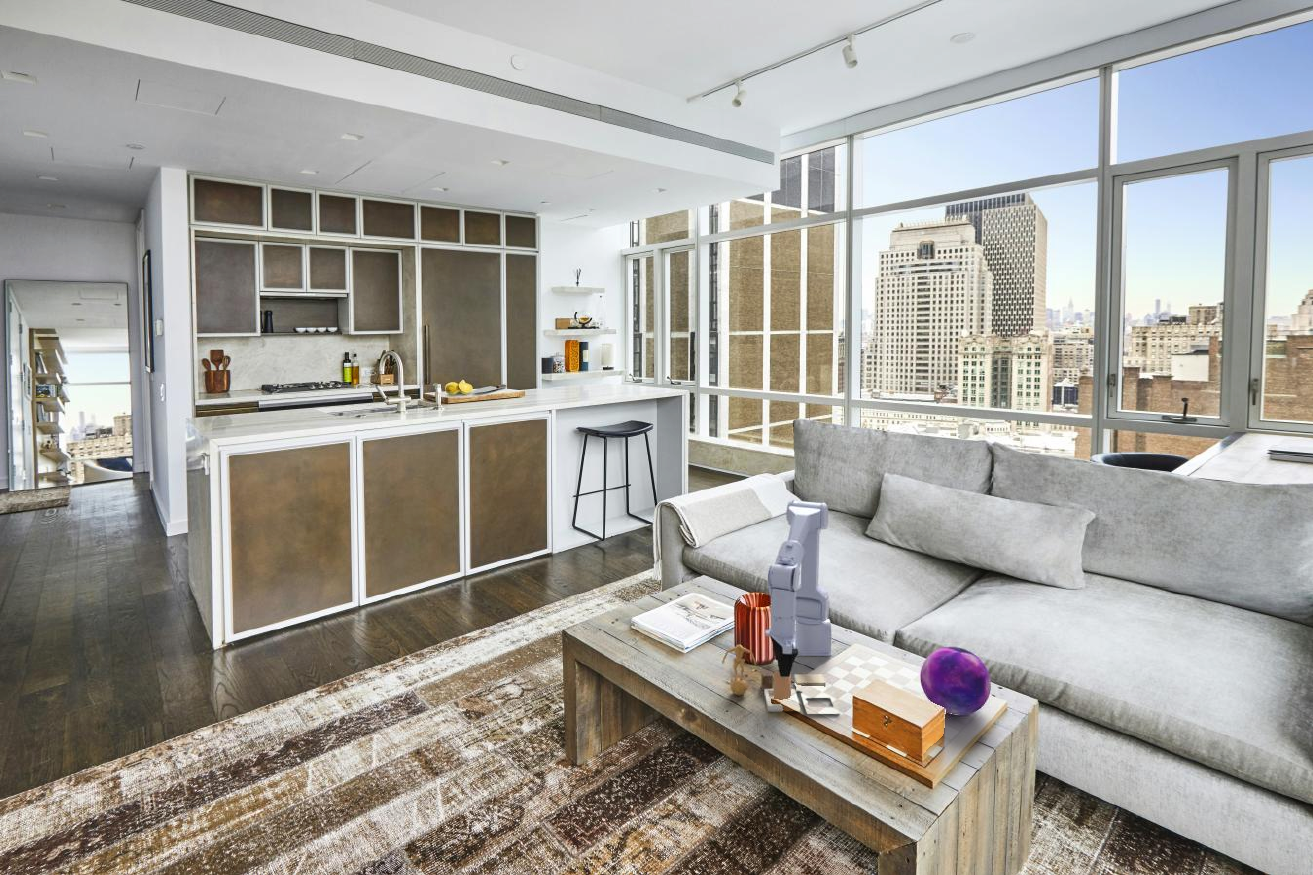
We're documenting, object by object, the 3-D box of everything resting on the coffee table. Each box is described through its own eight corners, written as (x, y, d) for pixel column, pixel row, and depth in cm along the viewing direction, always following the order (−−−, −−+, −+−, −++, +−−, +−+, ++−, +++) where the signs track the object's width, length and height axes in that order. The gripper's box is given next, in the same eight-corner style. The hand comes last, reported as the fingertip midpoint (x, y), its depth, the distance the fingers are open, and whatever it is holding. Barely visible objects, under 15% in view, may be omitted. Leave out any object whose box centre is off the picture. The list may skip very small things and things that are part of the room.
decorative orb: (959, 736, 154) (963, 673, 151) (905, 704, 167) (908, 645, 164) (1003, 716, 161) (1007, 655, 158) (947, 686, 174) (951, 630, 171)
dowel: (789, 695, 170) (789, 669, 169) (791, 705, 166) (792, 677, 165) (772, 695, 170) (772, 669, 169) (774, 705, 166) (774, 678, 165)
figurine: (721, 697, 171) (721, 651, 169) (722, 684, 177) (722, 640, 174) (756, 699, 170) (756, 653, 167) (756, 686, 175) (756, 641, 173)
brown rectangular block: (771, 685, 176) (771, 670, 175) (772, 690, 173) (772, 675, 173) (761, 685, 176) (761, 670, 175) (762, 690, 173) (762, 675, 173)
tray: (795, 694, 172) (795, 688, 171) (800, 711, 164) (800, 705, 164) (764, 694, 172) (764, 688, 172) (768, 711, 164) (768, 705, 164)
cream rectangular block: (822, 683, 176) (822, 674, 176) (825, 692, 172) (825, 682, 172) (794, 683, 176) (794, 674, 176) (796, 692, 172) (796, 682, 172)
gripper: (762, 601, 172) (761, 652, 174) (769, 627, 157) (769, 683, 160) (791, 601, 171) (790, 652, 174) (801, 627, 157) (800, 683, 160)
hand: (782, 667), depth 167 cm, fingers open, 7 cm apart
